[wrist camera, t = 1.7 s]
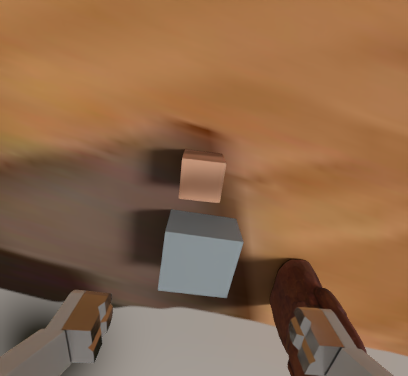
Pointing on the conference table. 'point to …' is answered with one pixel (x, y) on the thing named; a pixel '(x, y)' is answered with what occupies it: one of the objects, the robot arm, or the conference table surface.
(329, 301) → the wooden figurine
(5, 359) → the robot arm
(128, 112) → the conference table surface
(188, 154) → the terracotta cube
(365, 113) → the conference table surface
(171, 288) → the slate base block
